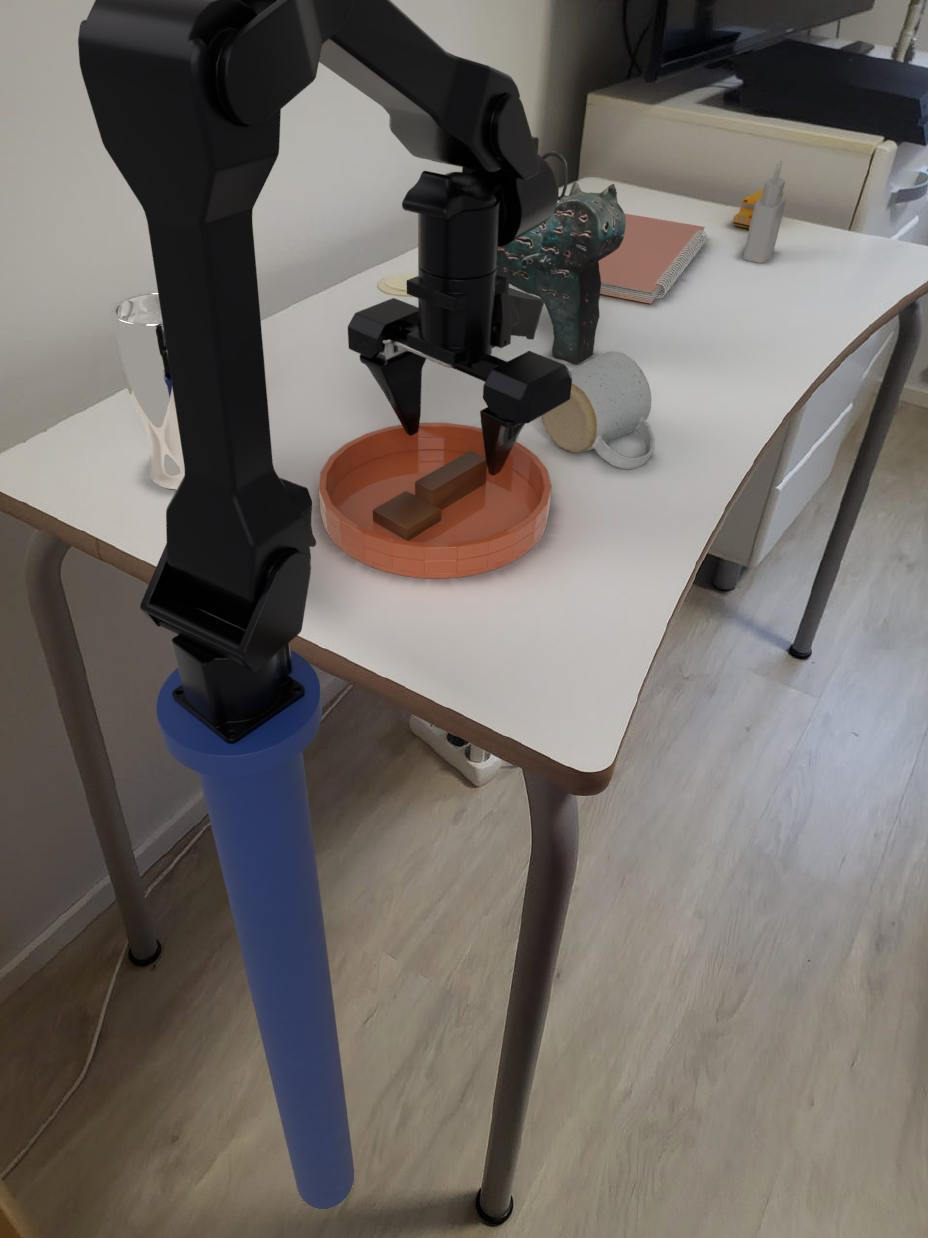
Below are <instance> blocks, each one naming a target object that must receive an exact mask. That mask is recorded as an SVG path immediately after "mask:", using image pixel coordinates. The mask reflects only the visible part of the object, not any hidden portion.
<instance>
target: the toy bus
mask: <svg viewBox="0 0 928 1238" xmlns="http://www.w3.org/2000/svg"><path fill="white" fill-rule="evenodd" d="M763 190H764V188H763V189H761V190H759V191H756V192H755V193H752V194H750V195H748V196H746V197H744V198H743V199H742V201H741V204H740V210H739V212H737V213H735V214H734V215H733V219H732V226H737V227H741V228H746V229H749V227H750V223H751V218H752V214H753V209H754V205H755V203H756V202H757V201H758V200H759V199H760V198H761V197H762V194H763ZM782 198H784V192H783V193H782Z"/></svg>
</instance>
